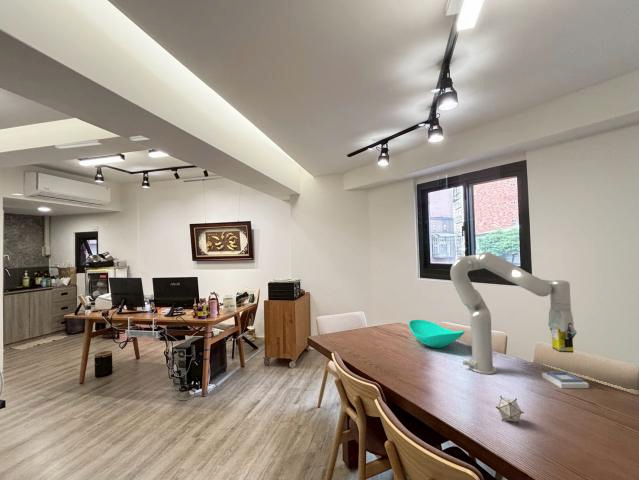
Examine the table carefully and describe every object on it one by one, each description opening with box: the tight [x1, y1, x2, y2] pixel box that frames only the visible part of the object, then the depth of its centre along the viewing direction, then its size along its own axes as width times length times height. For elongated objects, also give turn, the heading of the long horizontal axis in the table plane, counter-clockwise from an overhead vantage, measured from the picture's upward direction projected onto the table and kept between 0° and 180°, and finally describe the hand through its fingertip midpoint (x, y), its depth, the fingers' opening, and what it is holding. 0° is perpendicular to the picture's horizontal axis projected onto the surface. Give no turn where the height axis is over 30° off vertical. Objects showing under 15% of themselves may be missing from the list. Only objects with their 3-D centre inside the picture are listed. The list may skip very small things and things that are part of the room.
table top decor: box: [408, 319, 465, 349], centre depth 199 cm, size 40×28×13 cm
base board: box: [541, 371, 590, 389], centre depth 142 cm, size 12×12×3 cm
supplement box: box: [551, 328, 574, 354], centre depth 143 cm, size 6×6×11 cm
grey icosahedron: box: [495, 395, 525, 425], centre depth 111 cm, size 9×8×10 cm
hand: (562, 344), depth 143 cm, fingers closed on supplement box, 6 cm apart
